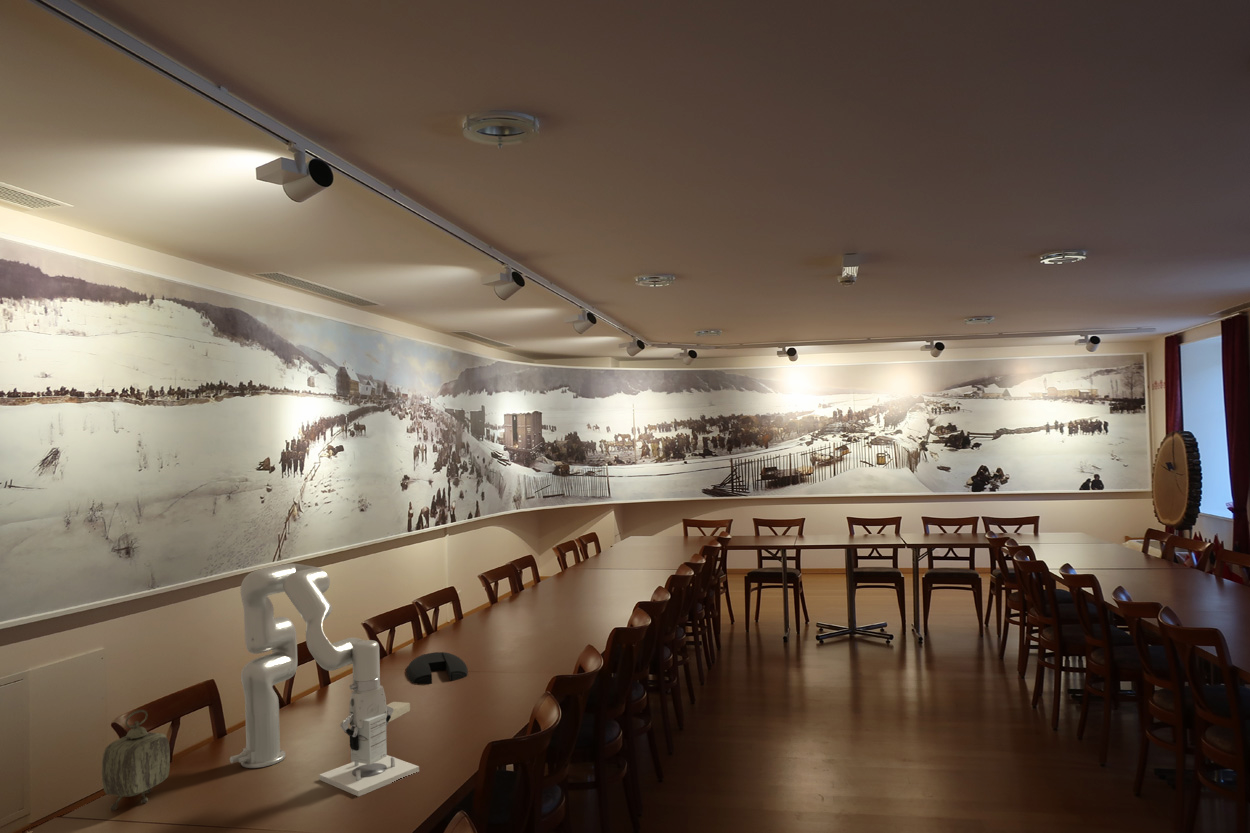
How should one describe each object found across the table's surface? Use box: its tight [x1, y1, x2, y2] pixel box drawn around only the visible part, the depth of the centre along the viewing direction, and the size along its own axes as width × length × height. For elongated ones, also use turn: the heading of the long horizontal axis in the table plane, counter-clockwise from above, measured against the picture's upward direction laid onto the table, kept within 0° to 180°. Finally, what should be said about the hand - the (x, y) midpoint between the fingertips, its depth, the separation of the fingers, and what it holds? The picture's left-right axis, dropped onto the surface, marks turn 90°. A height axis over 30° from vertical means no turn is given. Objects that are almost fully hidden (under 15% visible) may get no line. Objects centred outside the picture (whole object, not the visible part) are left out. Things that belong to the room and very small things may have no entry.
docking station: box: [406, 651, 468, 685], centre depth 343 cm, size 25×40×5 cm, turn 19°
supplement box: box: [350, 714, 388, 765], centre depth 232 cm, size 7×7×13 cm
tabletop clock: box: [101, 709, 171, 811], centre depth 220 cm, size 14×9×25 cm, turn 163°
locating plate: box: [318, 754, 420, 797], centre depth 232 cm, size 20×20×4 cm
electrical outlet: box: [386, 701, 411, 723], centre depth 283 cm, size 7×4×18 cm
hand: (368, 744), depth 232 cm, fingers closed on supplement box, 8 cm apart
